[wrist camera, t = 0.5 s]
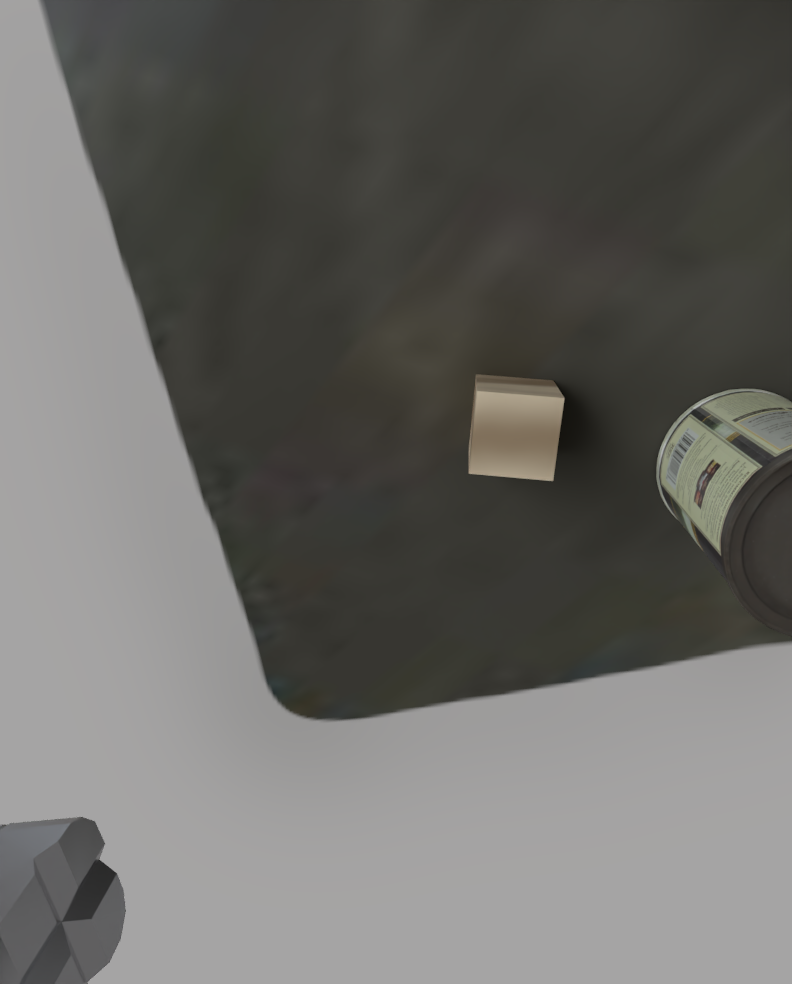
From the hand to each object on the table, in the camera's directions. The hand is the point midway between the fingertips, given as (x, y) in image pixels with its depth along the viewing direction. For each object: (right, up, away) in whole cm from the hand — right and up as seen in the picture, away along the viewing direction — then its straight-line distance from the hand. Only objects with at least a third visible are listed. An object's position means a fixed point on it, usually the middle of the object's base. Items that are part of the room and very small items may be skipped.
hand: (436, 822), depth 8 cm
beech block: (+7, +9, +41) cm, 42 cm away
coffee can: (+22, +6, +40) cm, 46 cm away
